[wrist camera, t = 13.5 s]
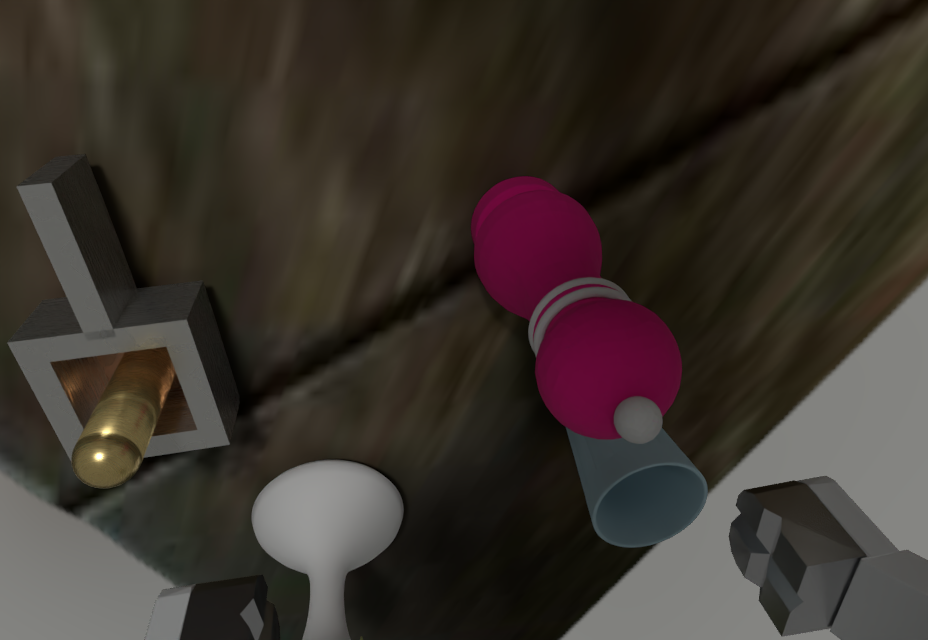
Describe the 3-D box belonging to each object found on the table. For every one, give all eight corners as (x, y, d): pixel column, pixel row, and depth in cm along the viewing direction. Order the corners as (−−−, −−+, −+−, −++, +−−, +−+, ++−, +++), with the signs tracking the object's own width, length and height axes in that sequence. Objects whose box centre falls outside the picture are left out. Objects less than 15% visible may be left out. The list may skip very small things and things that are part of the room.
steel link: (-23, 165, 32) (-72, 195, 28) (160, 146, 33) (136, 173, 29) (99, 418, 41) (74, 467, 37) (240, 398, 42) (229, 444, 38)
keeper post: (65, 307, 38) (-28, 430, 28) (202, 290, 38) (156, 404, 29) (112, 409, 42) (45, 545, 33) (234, 392, 43) (203, 520, 33)
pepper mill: (472, 284, 41) (559, 524, 24) (453, 181, 37) (540, 381, 21) (578, 260, 42) (735, 480, 25) (569, 155, 38) (749, 331, 21)
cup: (561, 361, 46) (612, 463, 37) (656, 366, 48) (726, 463, 39) (537, 440, 50) (579, 548, 41) (626, 441, 51) (684, 546, 43)
